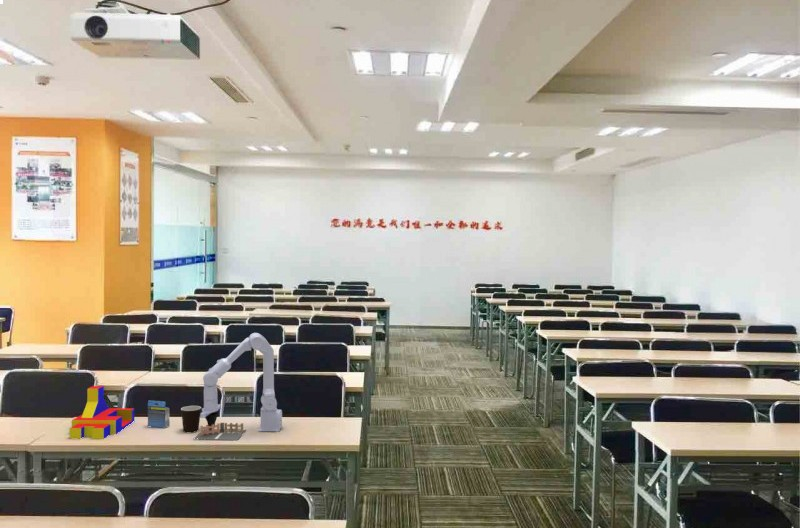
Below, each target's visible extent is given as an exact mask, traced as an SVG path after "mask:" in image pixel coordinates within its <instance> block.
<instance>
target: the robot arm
mask: <svg viewBox="0 0 800 528" xmlns="http://www.w3.org/2000/svg"><path fill="white" fill-rule="evenodd" d="M252 349H253V350H256V351H259V352H260V353H261V354H262V358H263V359H262V364H263V365H262V367H263V369H262V371H263V374H262V377H263V379H262V380H263V381H262V382H263V388H262V395H261V397H260V402H261V407H260V425H259V428H258V429H257V431H258V432H280V430H281V429H282V427H283V410H282V409H278V408H277V406H278V402H277V401H278V400H277V399H276V394H275V368H274V367H275V362H274V361H275V357H274V356H275V355H274V354H275V351H274V350H275V349H274V348H273V347H272V345H271V344H270V343H269V342H268V340H267V339H266V337H264V336H263V335H262V334H260V333H259V332H253V333H251V334H250V335H249V336H248V337H246V338H245V339H244V340H243V341H241V342H240V343H239V344H238V345H237V347H236V348H235V349H233V350H232V352H231V353H230V354H229V355H228V356H227V357H225V358H220V359H218V360H217V361H216V364H215V365H213V366H212V367H210V368H209V369H208V371H206V372H205V373H204V374H203V378H202V380H203V408H202V407H201V413H200V419H205V420H206V422H207V425H209V426H212V424H214V425H216V421H217V418H218V416H219V413H220V412H219V410H221V409H222V404H220V403H218V385H217V384H218V381H219V379H220V378H222V377H223V376H224V375H225V374H226V373H228V371H229V370H230V369H231V368H232V363H233V362H234V361H236V360H237V359H238V358H239V357H241V355H242V354H243V353H245V352H248V351H252ZM280 428H281V429H280ZM209 430H212V428H209Z"/></svg>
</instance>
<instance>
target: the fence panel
mask: <svg viewBox="0 0 800 528" xmlns="http://www.w3.org/2000/svg"><path fill="white" fill-rule="evenodd" d="M199 428H200V432H199V433H200V435H201V436H203V434H206V435H209V433H212V434H214V432H217V433H220V423H219V422H218V423H216V424H215V425H214V424H212V426H209V425H208V424H206V425H205V426H203V425H199ZM209 428H212V430H210V431H209ZM215 428H216V429H217V430H214V429H215ZM204 429H206V431H204V432H203V430H204Z"/></svg>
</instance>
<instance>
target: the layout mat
mask: <svg viewBox="0 0 800 528" xmlns="http://www.w3.org/2000/svg"><path fill="white" fill-rule="evenodd" d="M214 430H217V428H216V429H215V428H214ZM204 431H206V429H203V432H204ZM209 431H210V430H209ZM246 431H247V429H243V433H244V434H245V432H246ZM243 433H241V431H238V433H235V431H232V433H230V431H227V433H217V432H214V434H212V433H209V435H206V434H203V436H201V435H200V432H199V433H198V434H197V435H195V437H194V438H195V439H197V438H198V439H199V440H198V441H233V440H240V438H242V436H243V435H244V434H243ZM242 434H243V435H242ZM201 439H202V440H201ZM204 439H205V440H204Z"/></svg>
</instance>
